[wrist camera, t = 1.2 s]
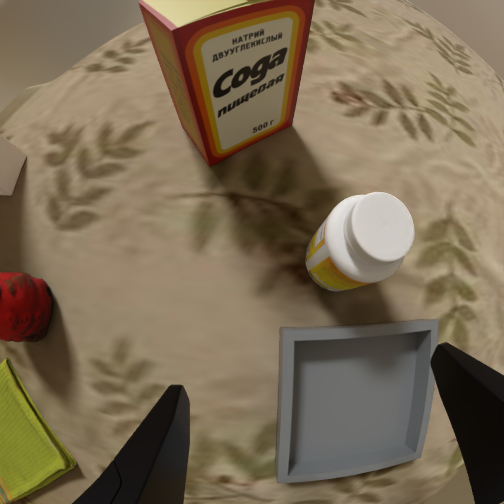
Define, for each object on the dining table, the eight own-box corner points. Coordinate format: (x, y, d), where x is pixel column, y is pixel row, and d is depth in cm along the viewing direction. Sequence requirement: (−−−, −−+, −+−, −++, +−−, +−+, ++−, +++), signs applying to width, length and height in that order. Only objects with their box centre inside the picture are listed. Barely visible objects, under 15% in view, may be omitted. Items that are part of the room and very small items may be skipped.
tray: (407, 446, 20) (420, 457, 17) (275, 466, 20) (277, 483, 17) (420, 319, 22) (438, 319, 20) (279, 327, 23) (283, 329, 20)
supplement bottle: (369, 285, 23) (435, 267, 13) (309, 297, 23) (349, 287, 13) (356, 224, 24) (410, 175, 14) (298, 233, 24) (326, 181, 14)
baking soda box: (209, 167, 26) (170, 25, 10) (181, 124, 27) (136, -3, 11) (291, 125, 27) (316, -11, 11) (257, 88, 28) (258, -36, 12)
